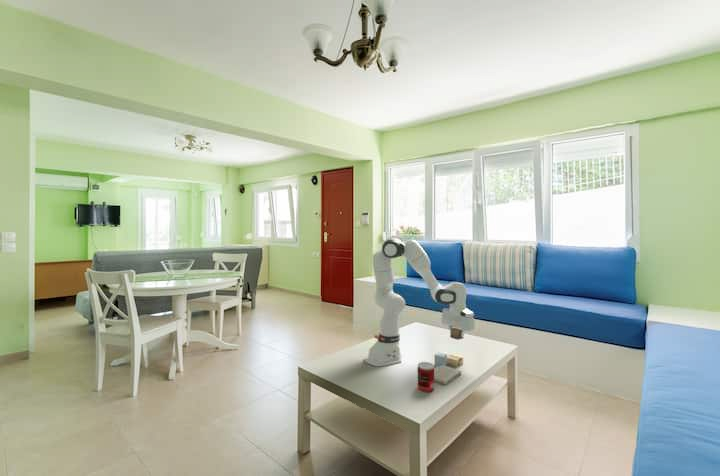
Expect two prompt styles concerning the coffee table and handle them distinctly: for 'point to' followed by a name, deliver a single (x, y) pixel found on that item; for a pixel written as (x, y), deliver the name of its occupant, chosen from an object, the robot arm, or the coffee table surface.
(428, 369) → the canned food
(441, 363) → the grey-blue block
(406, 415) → the coffee table surface
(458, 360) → the oak base block
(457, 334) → the walnut block
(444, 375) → the washcloth
